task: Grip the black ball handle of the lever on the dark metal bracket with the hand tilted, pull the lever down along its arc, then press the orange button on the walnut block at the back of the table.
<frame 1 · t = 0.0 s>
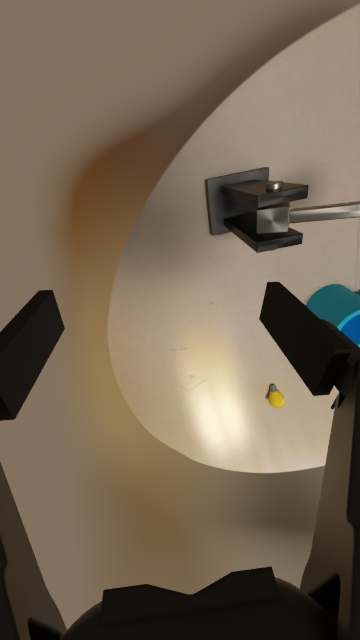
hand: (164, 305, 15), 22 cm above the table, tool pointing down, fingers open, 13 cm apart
mug: (336, 300, 44), on the table
lever: (342, 210, 21), point 14 cm above the table, hinge at 25.0°
light bulb: (272, 390, 56), on the table
bracket: (236, 202, 33), on the table
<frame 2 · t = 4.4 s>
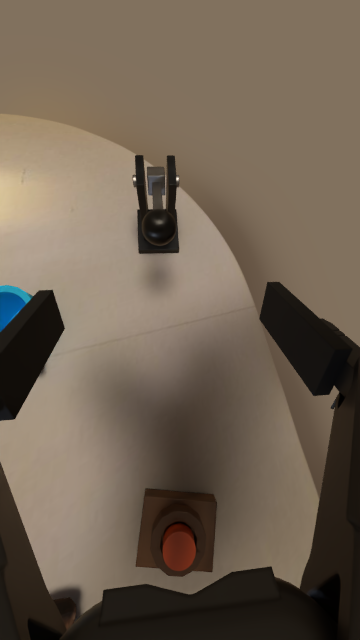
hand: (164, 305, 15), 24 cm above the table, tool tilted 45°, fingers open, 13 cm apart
button block: (176, 523, 33), on the table
button: (178, 545, 29), point 4 cm above the table, slide at 0.1 cm
mug: (37, 339, 38), on the table
lever: (157, 202, 28), point 14 cm above the table, hinge at 25.0°
bracket: (158, 233, 43), on the table
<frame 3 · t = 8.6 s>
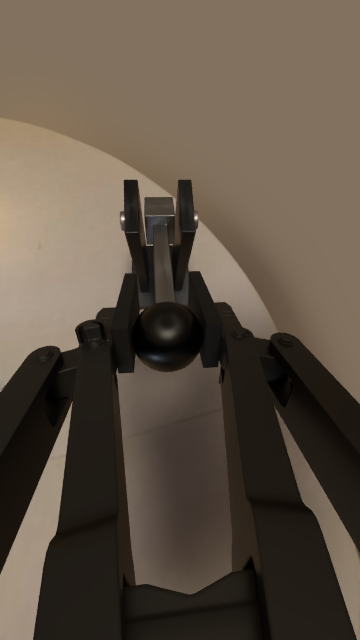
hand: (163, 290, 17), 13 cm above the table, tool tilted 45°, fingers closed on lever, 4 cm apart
lever: (162, 268, 15), point 14 cm above the table, hinge at 25.0°, touching gripper
bracket: (160, 278, 30), on the table
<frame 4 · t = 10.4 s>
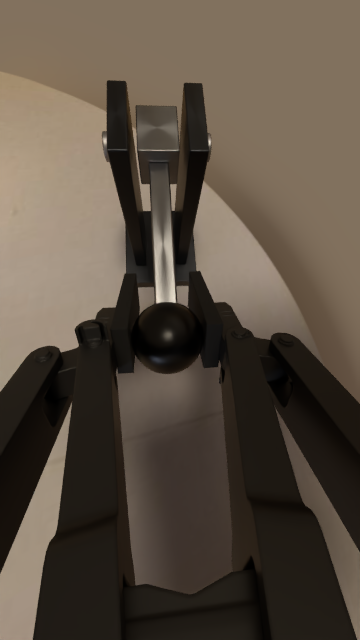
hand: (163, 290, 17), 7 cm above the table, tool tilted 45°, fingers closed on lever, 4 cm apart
lever: (162, 239, 13), point 12 cm above the table, hinge at -3.0°, touching gripper
bracket: (160, 251, 25), on the table
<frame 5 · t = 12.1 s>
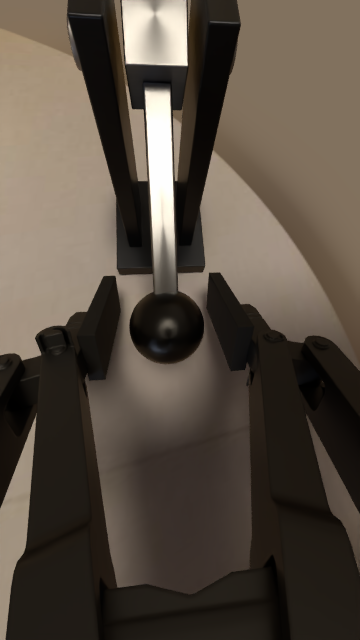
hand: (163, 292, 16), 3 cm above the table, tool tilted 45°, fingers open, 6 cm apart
lever: (162, 209, 10), point 10 cm above the table, hinge at -25.5°
bracket: (159, 230, 21), on the table
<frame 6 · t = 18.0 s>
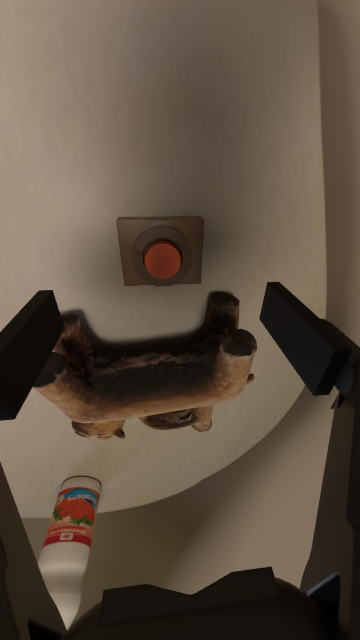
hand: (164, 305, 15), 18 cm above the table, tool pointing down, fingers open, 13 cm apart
fruit juice: (82, 484, 59), on the table
button block: (161, 249, 31), on the table
button: (162, 259, 27), point 4 cm above the table, slide at 0.1 cm
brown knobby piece: (154, 363, 41), on the table
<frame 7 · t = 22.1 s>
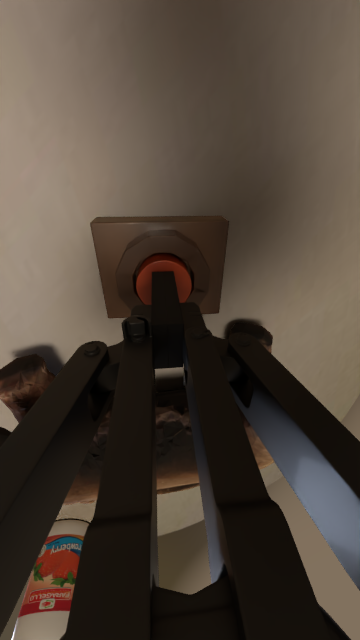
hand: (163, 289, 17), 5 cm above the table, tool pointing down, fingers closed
fruit juice: (69, 525, 51), on the table
button block: (162, 264, 21), on the table
button: (163, 282, 18), point 4 cm above the table, slide at -0.6 cm, touching gripper
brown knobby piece: (152, 405, 32), on the table
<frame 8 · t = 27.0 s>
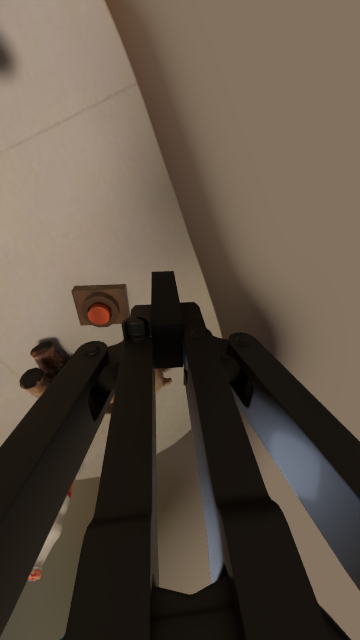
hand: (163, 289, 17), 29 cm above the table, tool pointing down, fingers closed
fruit juice: (66, 456, 79), on the table
button block: (103, 302, 49), on the table
button: (99, 313, 46), point 4 cm above the table, slide at 0.1 cm
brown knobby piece: (108, 370, 60), on the table
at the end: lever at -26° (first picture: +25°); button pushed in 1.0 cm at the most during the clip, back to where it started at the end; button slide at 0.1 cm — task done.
